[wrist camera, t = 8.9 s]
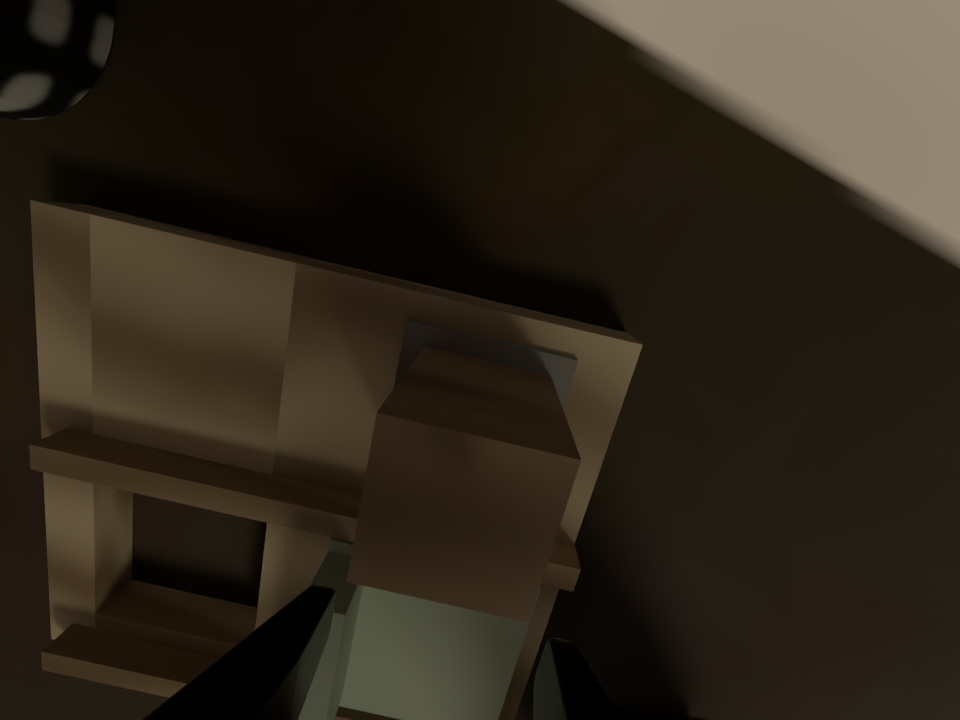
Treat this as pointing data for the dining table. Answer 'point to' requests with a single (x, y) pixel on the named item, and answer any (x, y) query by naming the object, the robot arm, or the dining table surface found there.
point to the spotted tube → (51, 53)
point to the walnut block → (465, 485)
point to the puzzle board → (247, 421)
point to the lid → (409, 653)
